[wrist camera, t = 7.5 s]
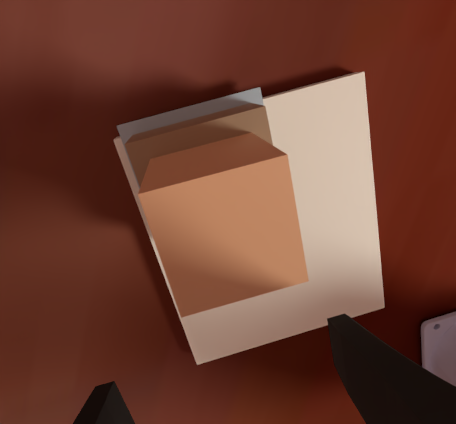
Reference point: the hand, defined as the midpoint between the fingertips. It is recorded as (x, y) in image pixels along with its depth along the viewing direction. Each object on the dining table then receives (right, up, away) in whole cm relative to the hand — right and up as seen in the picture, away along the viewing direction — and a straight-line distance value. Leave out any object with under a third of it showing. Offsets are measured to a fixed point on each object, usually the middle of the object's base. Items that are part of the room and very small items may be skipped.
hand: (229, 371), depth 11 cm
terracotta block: (-1, +6, +4) cm, 7 cm away
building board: (+2, +4, +9) cm, 10 cm away
